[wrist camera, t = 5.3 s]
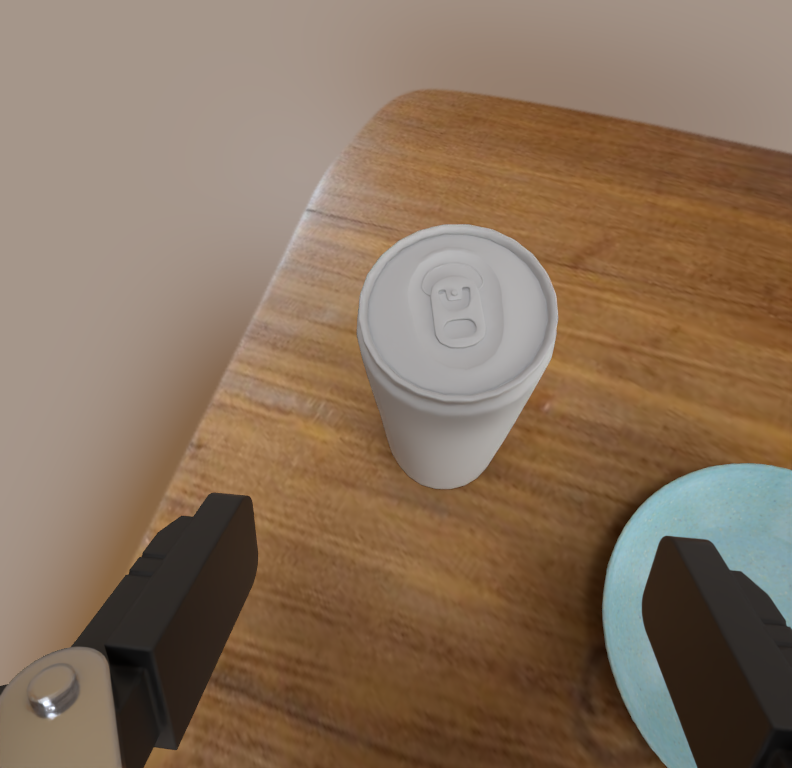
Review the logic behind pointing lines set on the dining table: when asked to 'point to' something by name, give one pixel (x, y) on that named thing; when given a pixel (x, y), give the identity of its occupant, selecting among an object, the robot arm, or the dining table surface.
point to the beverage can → (454, 346)
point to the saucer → (738, 546)
